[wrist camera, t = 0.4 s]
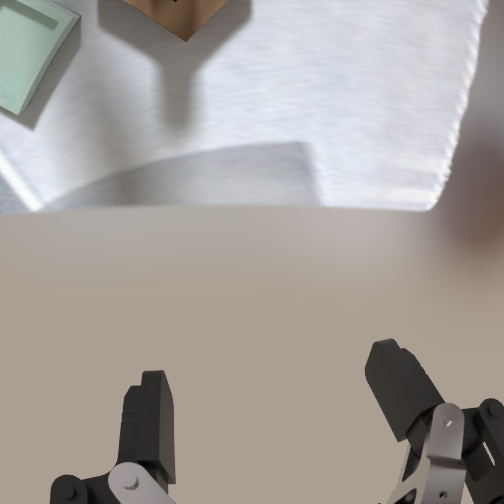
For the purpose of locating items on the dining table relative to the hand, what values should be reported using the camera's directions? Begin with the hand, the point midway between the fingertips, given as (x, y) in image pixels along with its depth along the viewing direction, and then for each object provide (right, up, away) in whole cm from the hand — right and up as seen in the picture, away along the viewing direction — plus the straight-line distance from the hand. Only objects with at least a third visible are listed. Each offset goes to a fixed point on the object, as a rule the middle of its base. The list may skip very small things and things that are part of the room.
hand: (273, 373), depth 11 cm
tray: (-26, +27, +9) cm, 39 cm away
